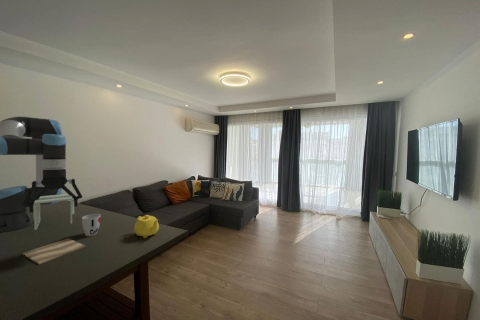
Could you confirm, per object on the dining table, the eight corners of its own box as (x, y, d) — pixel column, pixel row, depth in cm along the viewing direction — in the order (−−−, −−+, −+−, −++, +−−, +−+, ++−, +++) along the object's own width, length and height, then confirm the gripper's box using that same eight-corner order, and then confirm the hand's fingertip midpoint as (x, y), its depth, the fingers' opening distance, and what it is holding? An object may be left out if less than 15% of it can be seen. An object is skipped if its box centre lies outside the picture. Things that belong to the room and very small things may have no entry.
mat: (22, 254, 82) (22, 253, 82) (68, 239, 97) (68, 238, 97) (39, 264, 75) (39, 263, 75) (85, 246, 90) (85, 245, 90)
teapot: (166, 234, 105) (166, 216, 105) (148, 242, 96) (148, 222, 95) (146, 227, 114) (146, 210, 114) (128, 234, 104) (128, 215, 104)
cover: (38, 221, 86) (37, 196, 85) (72, 216, 94) (72, 193, 93) (34, 229, 77) (34, 202, 77) (72, 223, 85) (72, 198, 84)
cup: (90, 238, 99) (90, 219, 98) (77, 236, 100) (77, 218, 100) (104, 231, 107) (104, 214, 106) (92, 230, 108) (92, 213, 108)
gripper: (11, 170, 74) (12, 225, 74) (89, 168, 90) (89, 213, 90) (15, 169, 79) (16, 219, 80) (88, 167, 95) (88, 209, 96)
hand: (55, 216), depth 85 cm, fingers closed on cover, 12 cm apart
